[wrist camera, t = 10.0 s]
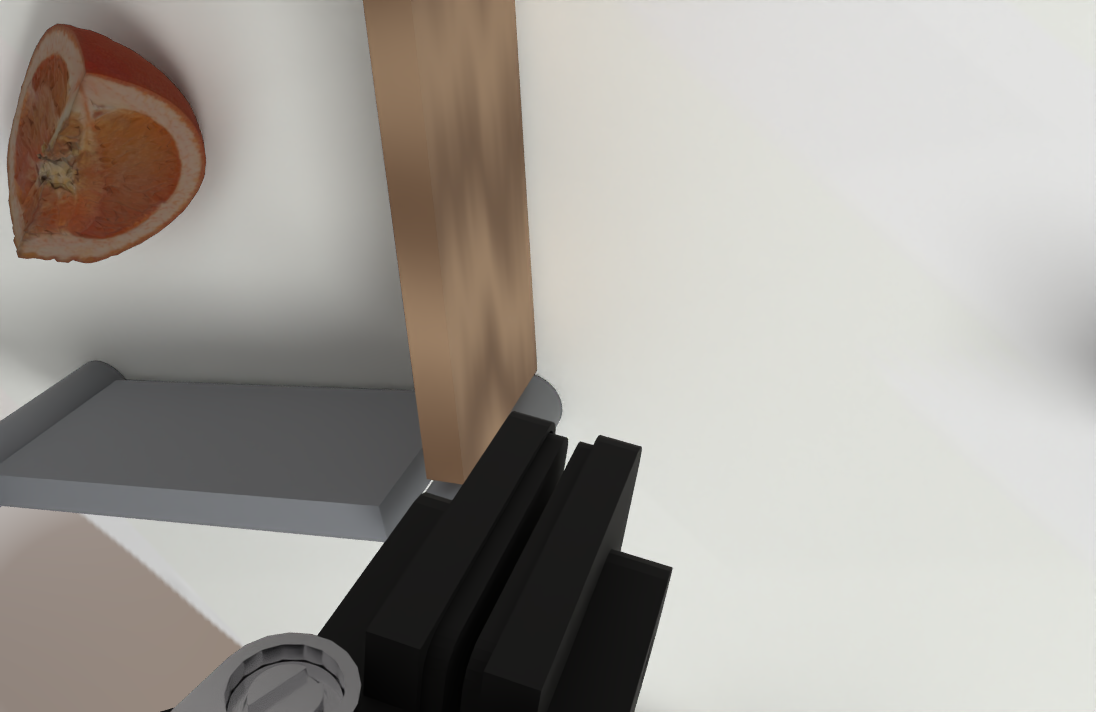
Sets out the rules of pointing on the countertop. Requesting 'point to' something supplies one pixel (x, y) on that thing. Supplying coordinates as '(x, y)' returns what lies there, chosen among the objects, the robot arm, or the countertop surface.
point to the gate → (457, 214)
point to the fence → (226, 453)
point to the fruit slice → (97, 150)
